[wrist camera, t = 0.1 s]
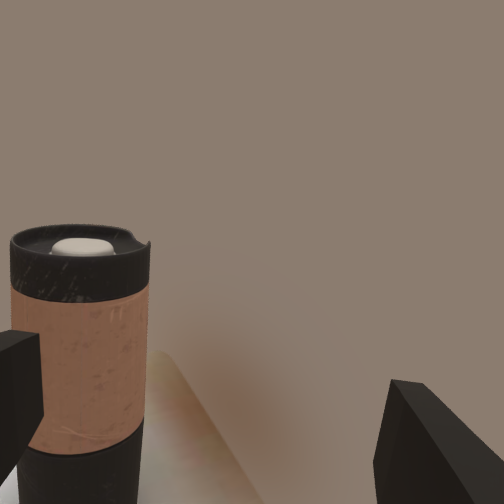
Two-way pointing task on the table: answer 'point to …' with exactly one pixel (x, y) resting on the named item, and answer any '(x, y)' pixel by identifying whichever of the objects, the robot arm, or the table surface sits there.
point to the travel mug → (84, 360)
